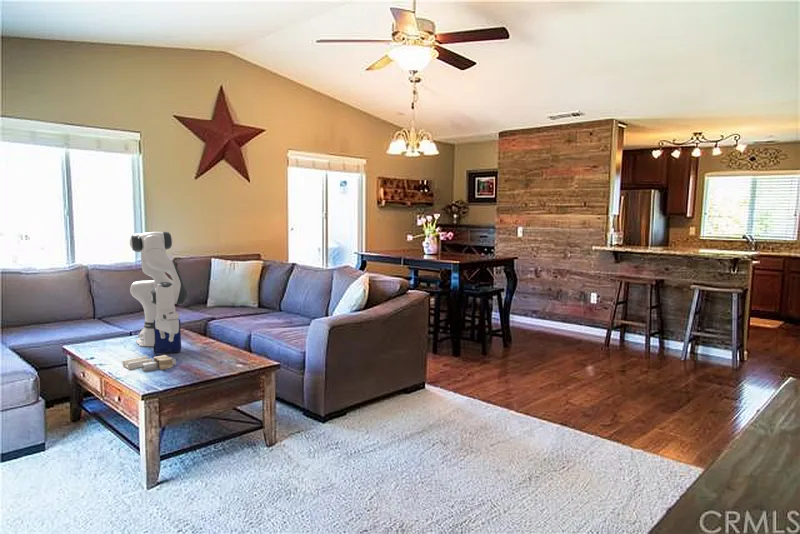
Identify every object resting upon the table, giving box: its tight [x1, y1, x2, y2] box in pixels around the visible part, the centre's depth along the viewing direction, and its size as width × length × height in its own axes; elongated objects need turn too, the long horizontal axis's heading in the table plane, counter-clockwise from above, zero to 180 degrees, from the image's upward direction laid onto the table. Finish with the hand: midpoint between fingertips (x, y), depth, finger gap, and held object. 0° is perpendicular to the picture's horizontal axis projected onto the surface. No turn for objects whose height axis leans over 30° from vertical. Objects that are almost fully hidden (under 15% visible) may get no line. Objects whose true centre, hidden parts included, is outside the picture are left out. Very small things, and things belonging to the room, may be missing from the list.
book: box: [153, 317, 182, 355], centre depth 298 cm, size 14×5×20 cm, turn 105°
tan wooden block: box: [152, 354, 174, 371], centre depth 273 cm, size 9×6×5 cm
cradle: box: [122, 355, 154, 370], centre depth 276 cm, size 8×12×3 cm, turn 138°
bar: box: [141, 357, 177, 372], centre depth 272 cm, size 4×16×4 cm, turn 135°
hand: (167, 339), depth 274 cm, fingers open, 8 cm apart
